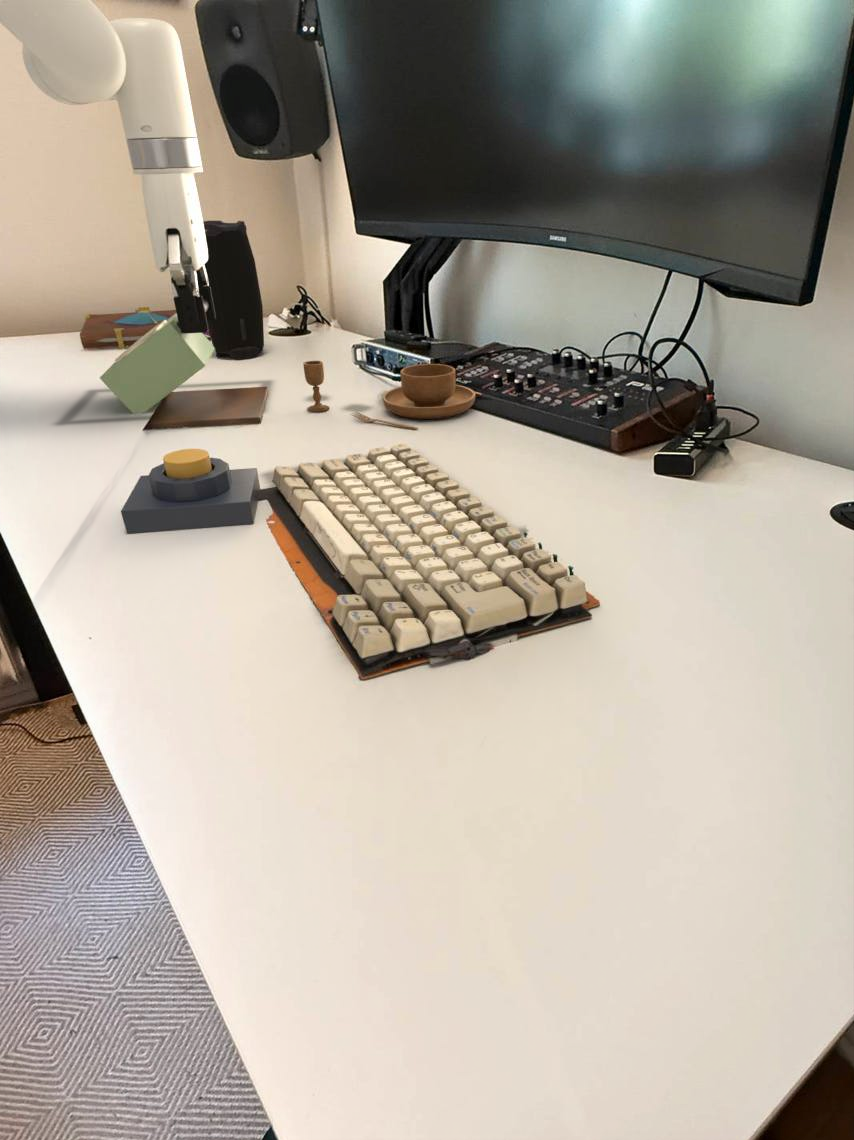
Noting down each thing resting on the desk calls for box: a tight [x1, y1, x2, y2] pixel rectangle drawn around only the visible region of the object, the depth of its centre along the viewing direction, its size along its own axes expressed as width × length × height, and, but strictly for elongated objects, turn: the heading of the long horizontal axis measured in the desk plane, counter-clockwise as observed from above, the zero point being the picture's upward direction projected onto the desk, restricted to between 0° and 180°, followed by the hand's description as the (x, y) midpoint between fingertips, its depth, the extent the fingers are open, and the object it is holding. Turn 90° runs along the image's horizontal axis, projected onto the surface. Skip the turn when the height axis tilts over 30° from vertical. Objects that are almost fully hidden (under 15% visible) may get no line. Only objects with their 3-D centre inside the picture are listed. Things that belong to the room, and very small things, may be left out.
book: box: [79, 306, 210, 350], centre depth 144 cm, size 16×25×5 cm, turn 107°
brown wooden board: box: [142, 386, 269, 431], centre depth 104 cm, size 23×15×1 cm, turn 99°
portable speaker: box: [203, 220, 265, 361], centre depth 127 cm, size 9×9×20 cm
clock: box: [99, 299, 215, 415], centre depth 100 cm, size 6×10×15 cm
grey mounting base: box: [120, 457, 261, 535], centre depth 74 cm, size 11×9×4 cm
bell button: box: [162, 448, 212, 479], centre depth 73 cm, size 4×4×2 cm
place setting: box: [302, 360, 482, 430], centre depth 103 cm, size 18×20×6 cm
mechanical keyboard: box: [258, 443, 601, 680], centre depth 68 cm, size 38×19×3 cm, turn 26°
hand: (199, 325), depth 99 cm, fingers closed on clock, 6 cm apart
